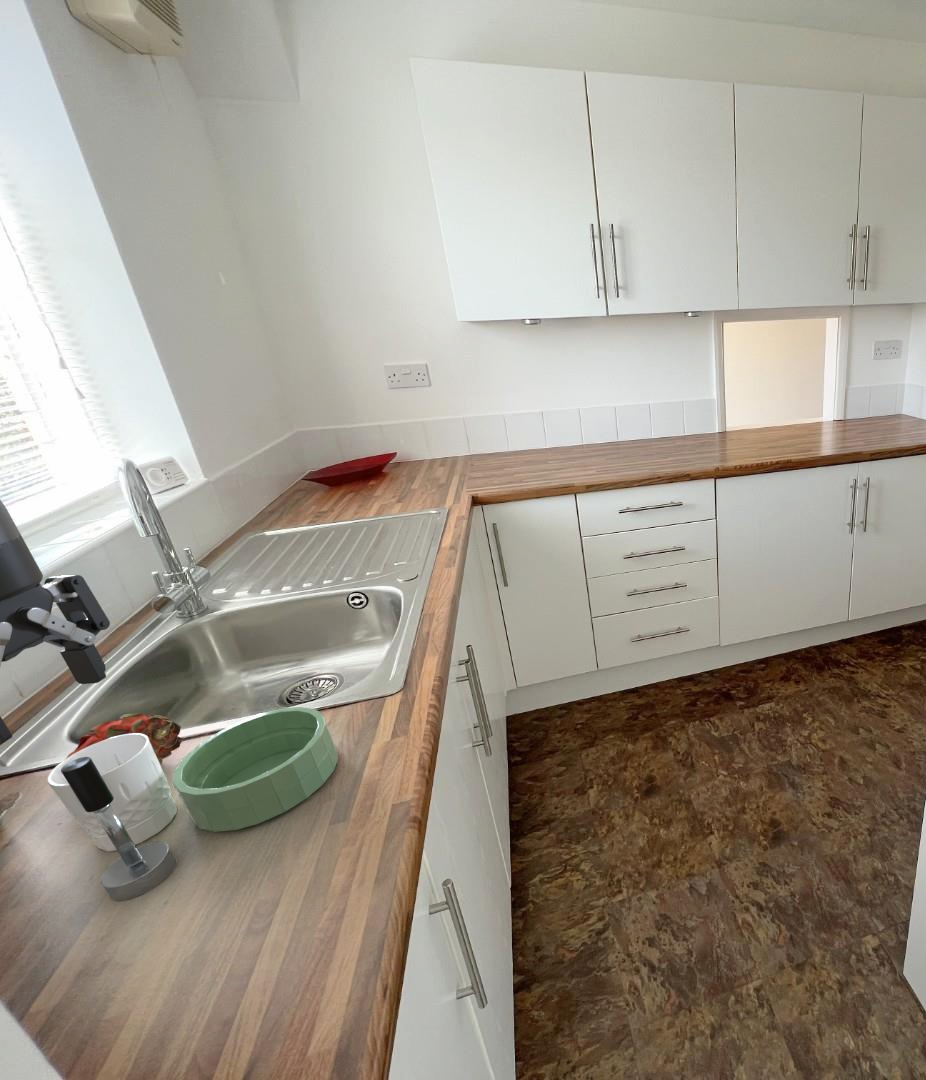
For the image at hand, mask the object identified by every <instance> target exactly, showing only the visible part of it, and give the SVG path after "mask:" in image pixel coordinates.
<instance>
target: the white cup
mask: <svg viewBox="0 0 926 1080" xmlns="http://www.w3.org/2000/svg"><path fill="white" fill-rule="evenodd" d="M82 757H90V758H91V759H92V761H93V763H94V764H95V766H96V768H97V769H98V771H99V773H100V775H101V776H102V778H103V780H104V781H105V783H106V785H107V787H108V788H109V790H110V792H111V793H112V795H113V797H114V799H113V801H112V802H111V803H110V804H111V805H112V807H113V809H114V811H115V812H116V814H117V816H118V817H119V819H120V821H121V822H122V824H123V826H124V827H125V829H126V831H127V833H128V834H129V836H130V838H131V839H132V841H133V843H134V844H135V846H136V845H139V844H141V843H143V842H145V841H146V840H148V839H150V838H151V837H154V836H155V835H156V834H158V833H159V832H161V831H162V830H163V829H164V828H166V827H167V826H168V825H169V824H170V823H171V822H172V821H173V819H174V818H175V816H176V814H177V813H178V809H177V804H176V802H175V800H174V798H173V796H172V793H171V787H170V785H169V783H168V780H167V779H168V778H167V777H166V775H165V773H164V769H163V767H162V765H161V764H160V763H159V761H158V759H157V756H156V754H155V752H154V750H153V747H152V745H151V743H150V741H149V738H148V737H147V736H146V735H144V734H139V733H133V734H125V735H120V736H116V737H112V738H109V739H106V740H103V741H100V742H98V743H95V744H93V745H90V746H88V747H86V748H84V749H82V750H80V751H78V752H76V753H75V754H73V755H71V756H70V757H68V758H67V759H66V758H65V760H62V761H61V762H60V763H58V764H57V765H56V766H55V767H54V768H53V769H52V770H51V771H50V772H49V774H48V775H47V778H46V782H47V783H48V785H49V786H50V788H51V789H52V790H53V792H54V794H56V795H57V797H58V799H59V800H60V801H61V803H62V804H63V805H64V806H65V808H66V809H67V811H68V812H69V813H70V815H71V816H72V817H73V818H74V819H75V821H76V822H77V823H78V825H79V826H80V828H82V830H84V832H86V833H87V834H88V836H89V837H90V839H91V840H92V841H93V843H94V844H95V845H96V847H97V848H98V849H99V850H102V851H104V852H108V853H109V852H115V851H116V852H117V850H116V848H115V846H114V845H113V843H112V841H111V840H110V838H109V837H108V835H107V833H106V832H105V830H104V828H103V827H102V825H101V823H100V822H99V820H98V818H97V817H96V815H95V814H94V812H86V811H85V809H84V808H83V806H82V805H81V803H80V801H79V800H78V798H77V796H76V795H75V793H74V792H73V790H72V788H71V787H70V785H69V784H68V782H67V780H66V779H65V777H64V775H63V774H62V772H61V769H62V767H63V766H65V765H66V764H68V763H69V762H71V761H73V760H76V759H78V758H82Z"/></svg>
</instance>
